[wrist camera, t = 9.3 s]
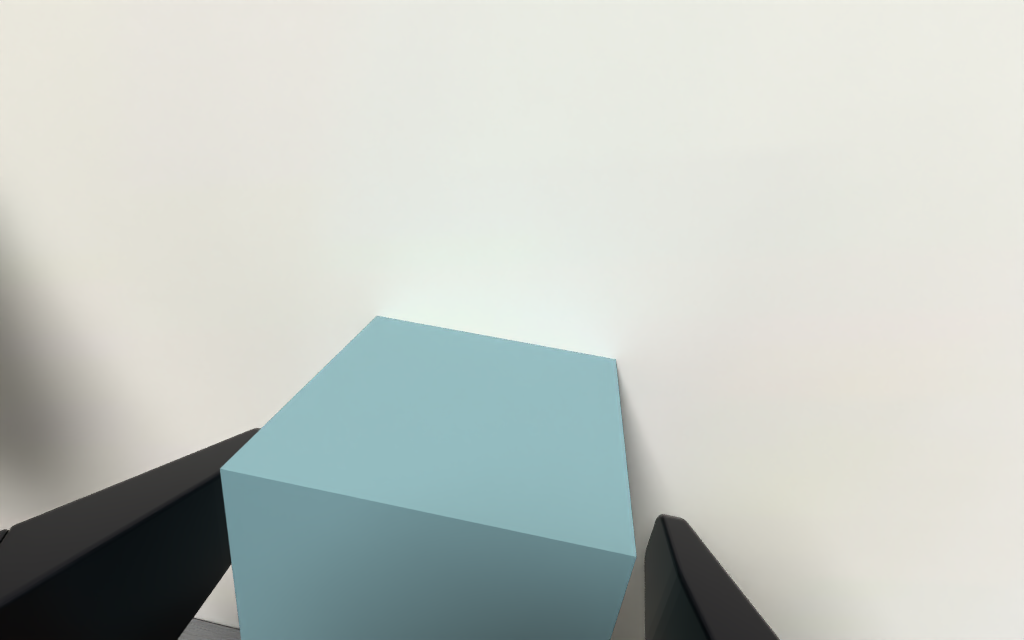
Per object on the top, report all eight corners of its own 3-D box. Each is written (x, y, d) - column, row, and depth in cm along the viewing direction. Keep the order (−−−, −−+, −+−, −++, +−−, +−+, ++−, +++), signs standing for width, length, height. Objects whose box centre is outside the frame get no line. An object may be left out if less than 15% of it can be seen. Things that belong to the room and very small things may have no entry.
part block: (571, 539, 11) (561, 794, 7) (373, 497, 11) (250, 717, 7) (615, 357, 9) (636, 557, 5) (378, 314, 10) (220, 468, 5)
